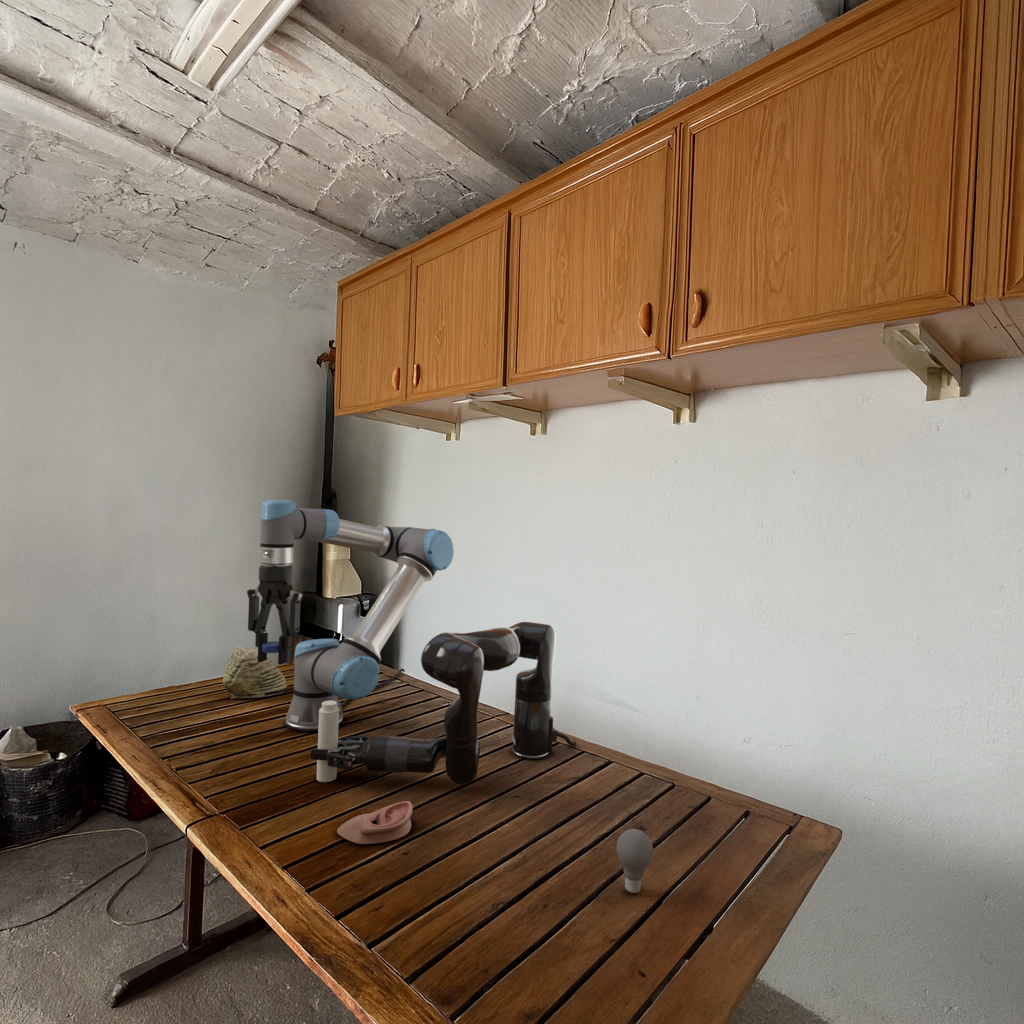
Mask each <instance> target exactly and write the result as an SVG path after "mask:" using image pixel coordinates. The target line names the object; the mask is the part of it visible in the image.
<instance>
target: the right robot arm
mask: <svg viewBox="0 0 1024 1024" xmlns="http://www.w3.org/2000/svg"><path fill="white" fill-rule="evenodd" d="M556 645H557V634H556V629H555V627H554V626H553V625H551V624H547V623H540V622H531V621H520V622H517V623H515V624H513V625H510V626H507V627H506V626H505V627H504V626H502V627H493V628H488V629H484V630H477V631H471V632H441V633H439V634H437V635H435V636H433V637H432V638H431V639H430V640H429V641H428V642H427V643H426V645H425V647H424V648H423V650H422V654H421V658H420V663H421V667H422V670H423V671H424V672H425V674H427V676H429V677H430V678H432V679H434V680H435V681H438V682H440V683H441V684H444V685H446V686H448V687H450V688H453V689H455V690H457V692H458V694H459V695H458V697H457V698H455V699H454V700H453V701H452V702H451V703H450V704H449V705H448V706H447V708H446V711H445V713H444V717H443V727H444V736H442V737H441V736H440V737H436V738H431V739H423V738H410V737H405V736H391V735H376V734H375V735H372V736H370V738H369V737H368V735H354V736H342V737H341V739H338V749H332V750H329V749H318V748H312V749H311V751H310V759H311V760H312V761H313V760H314V761H317V760H327V762H328V763H327V765H328V766H331V767H336V768H337V769H341V770H345V771H351V770H352V769H353V765H361V764H364V765H365V766H366V770H367V771H369V772H377V773H378V772H380V773H394V774H395V773H396V774H397V773H398V774H400V773H418V774H420V773H421V774H431V773H433V772H434V771H435V770H436V767H437V765H438V763H439V761H440V760H442V759H444V758H445V773H446V775H447V777H448V779H449V780H450V781H452V782H453V783H454V784H457V785H467V784H469V783H472V782H473V781H474V780H475V779H476V777H477V775H478V771H479V763H480V754H481V743H480V741H479V739H478V735H479V731H478V729H479V728H478V706H479V702H480V695H481V691H482V682H483V676H484V672H497V671H499V670H503V669H506V668H509V667H511V666H512V665H513V664H515V663H516V662H517V660H518V658H522V659H527V660H535V661H536V666H535V667H533V668H529V669H524V670H521V671H519V672H518V673H517V674H516V676H515V692H514V713H513V733H512V734H511V742H512V748H511V751H512V754H514V755H515V756H517V757H519V758H521V759H525V760H526V759H527V760H539V759H545V758H546V757H548V756H550V755H553V754H552V753H553V743H556V742H557V740H558V737H559V738H562V739H563V740H565V742H566V744H568V745H569V746H571V747H574V746H576V745H577V742H576V741H572V740H571V739H570V738H569V736H567V735H566V734H563V733H561V732H559V731H558V730H557V729H556V728H555V727H554V717H553V716H552V715H551V709H552V708H551V707H552V685H553V678H554V677H553V676H554V668H555V667H554V666H555V665H554V664H555V654H556V647H557V646H556ZM368 738H369V739H368ZM335 753H337V754H335ZM335 762H336V763H335Z"/></svg>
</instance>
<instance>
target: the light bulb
mask: <svg viewBox="0 0 1024 1024" xmlns="http://www.w3.org/2000/svg"><path fill="white" fill-rule="evenodd" d="M615 849H616V854H617V857H618V859H619V861H620V863H621V865H622V867H623V873H624V874H623V875H624V876H625V878H624V888H625V890H627V891H628V892H630V893H634V894H635V893H639V892H640V891H641V889H642V887H641V886H642V879H643V877H644V875H645V871H646V868H647V867H648V866H649V864H650V863H651V861H652V859H653V855H654V847H653V843H652V841H651V838H649V836H648V835H647V834H646V833H645V832H643V831H642V830H641V829H636V828H629V829H627V830H625V831H623V832H622V833H621V834H620V835H619V837H618V839H617V841H616V847H615Z"/></svg>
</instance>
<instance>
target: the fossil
mask: <svg viewBox="0 0 1024 1024" xmlns="http://www.w3.org/2000/svg"><path fill="white" fill-rule="evenodd" d="M257 661H258V647H256V648H251V647H247V646H246V647H245V646H238V647H237V648H236V649H235V650H233V651H232V653H231V656H230V657H229V659H228V660H227V663H226V666H225V668H224V671H223V675H222V676H223V677H222V685H223V687H224V688H225V690H226V691H228V693H229V698H230V699H250V698H264V697H271V696H275V695H281V694H284V693H285V691H286V689H287V687H288V686H287V680H286V678H285V676H284V674H283V673H282V672H281V669H279V668H278V667H277V665H276V663H275V662H274V660H273V659H272V658H271V657H270V656H269V655H268V654H267V660H265V661H263V662H257Z"/></svg>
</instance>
